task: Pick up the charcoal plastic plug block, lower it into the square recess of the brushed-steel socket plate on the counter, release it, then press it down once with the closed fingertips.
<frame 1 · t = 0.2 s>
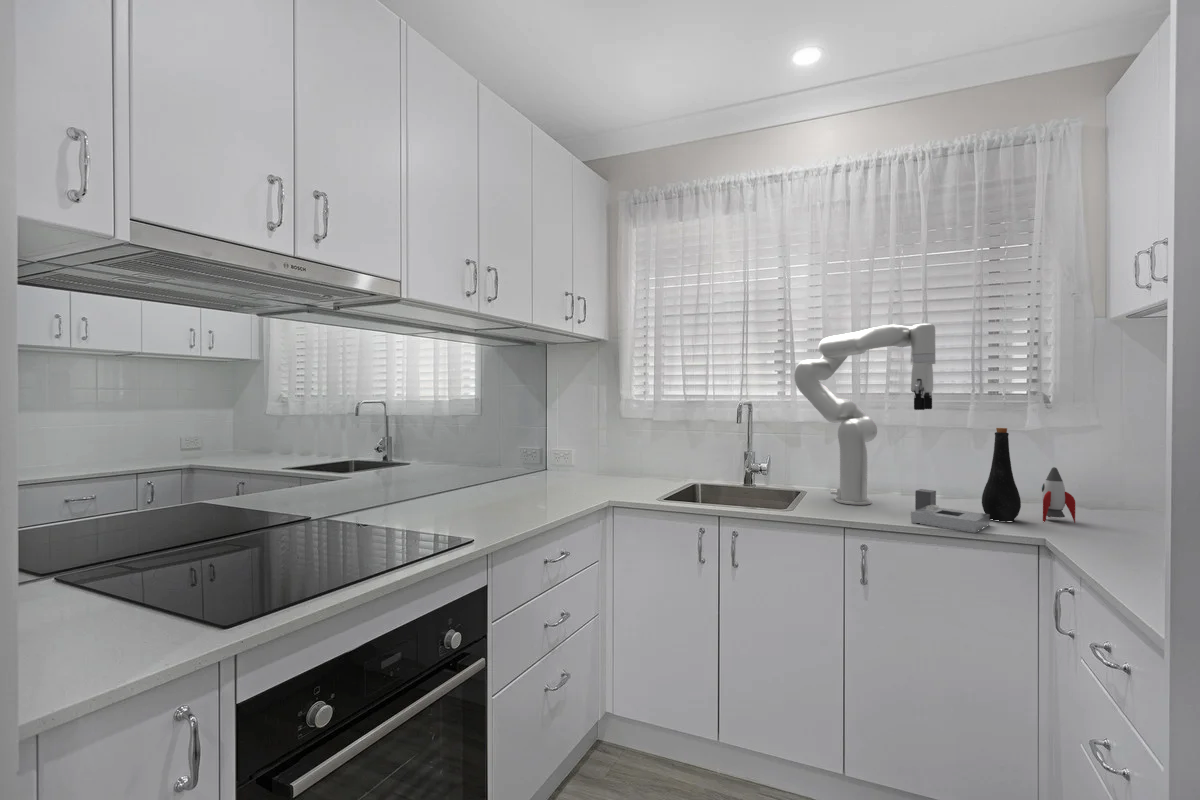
hand: (923, 409, 204), 36 cm above the countertop, tool pointing down, fingers open, 9 cm apart
socket plate: (949, 524, 186), on the countertop
plug: (925, 513, 202), on the countertop
toy: (1057, 522, 190), on the countertop
bottle: (1000, 520, 192), on the countertop
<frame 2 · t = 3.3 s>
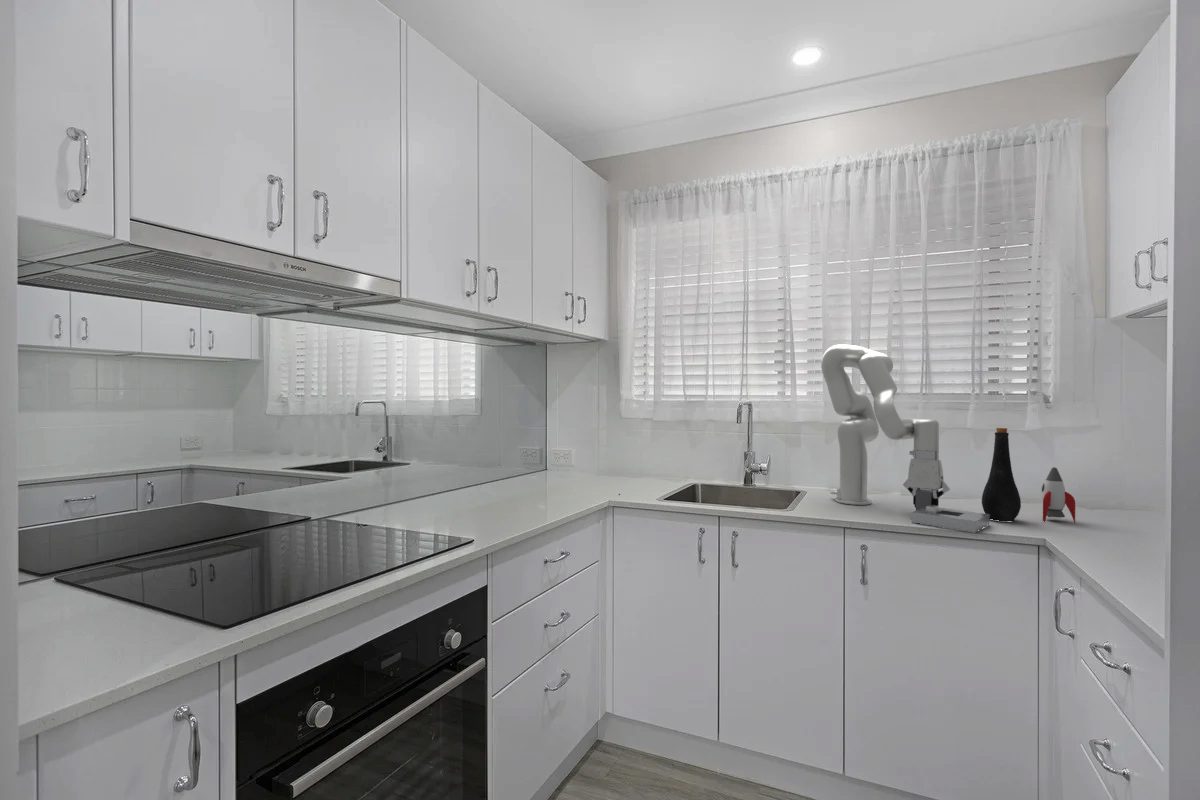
hand: (925, 507, 202), 2 cm above the countertop, tool pointing down, fingers closed on plug, 4 cm apart
plug: (925, 513, 202), on the countertop, touching gripper
everything else where it was.
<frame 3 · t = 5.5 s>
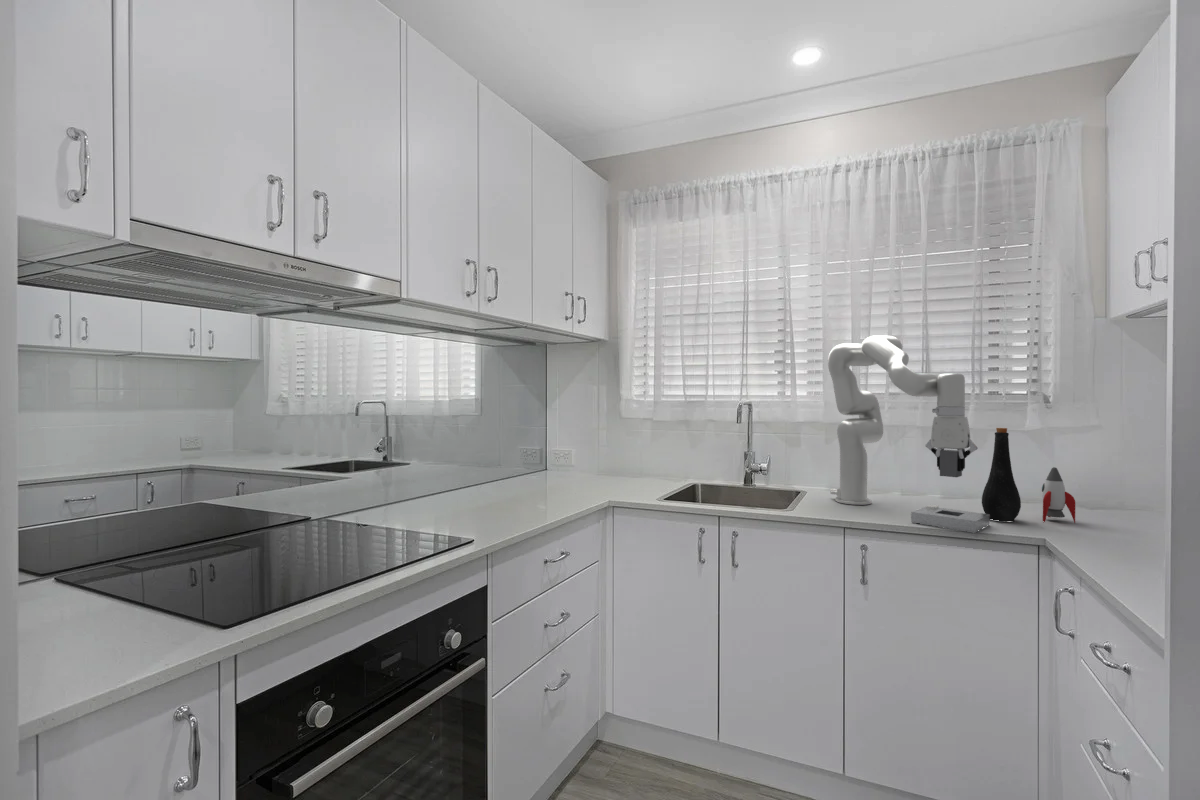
hand: (950, 469, 186), 17 cm above the countertop, tool pointing down, fingers closed on plug, 4 cm apart
plug: (950, 475, 186), point 15 cm above the countertop, touching gripper
everything else where it was.
when the fingers open (4 cm above the countertop, at t = 7.8 s): plug drops 2 cm, resting on socket plate.
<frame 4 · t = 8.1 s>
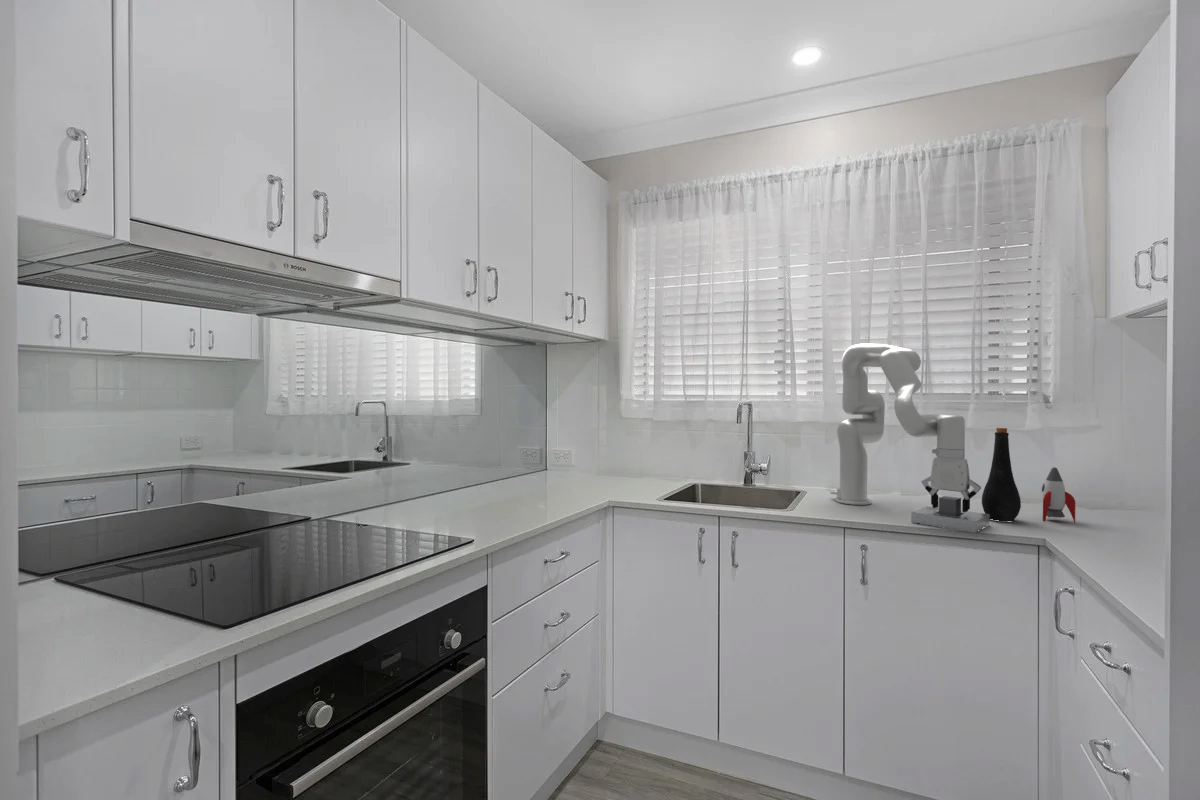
hand: (950, 509, 186), 5 cm above the countertop, tool pointing down, fingers open, 8 cm apart
plug: (949, 523, 186), resting on socket plate
everything else where it was.
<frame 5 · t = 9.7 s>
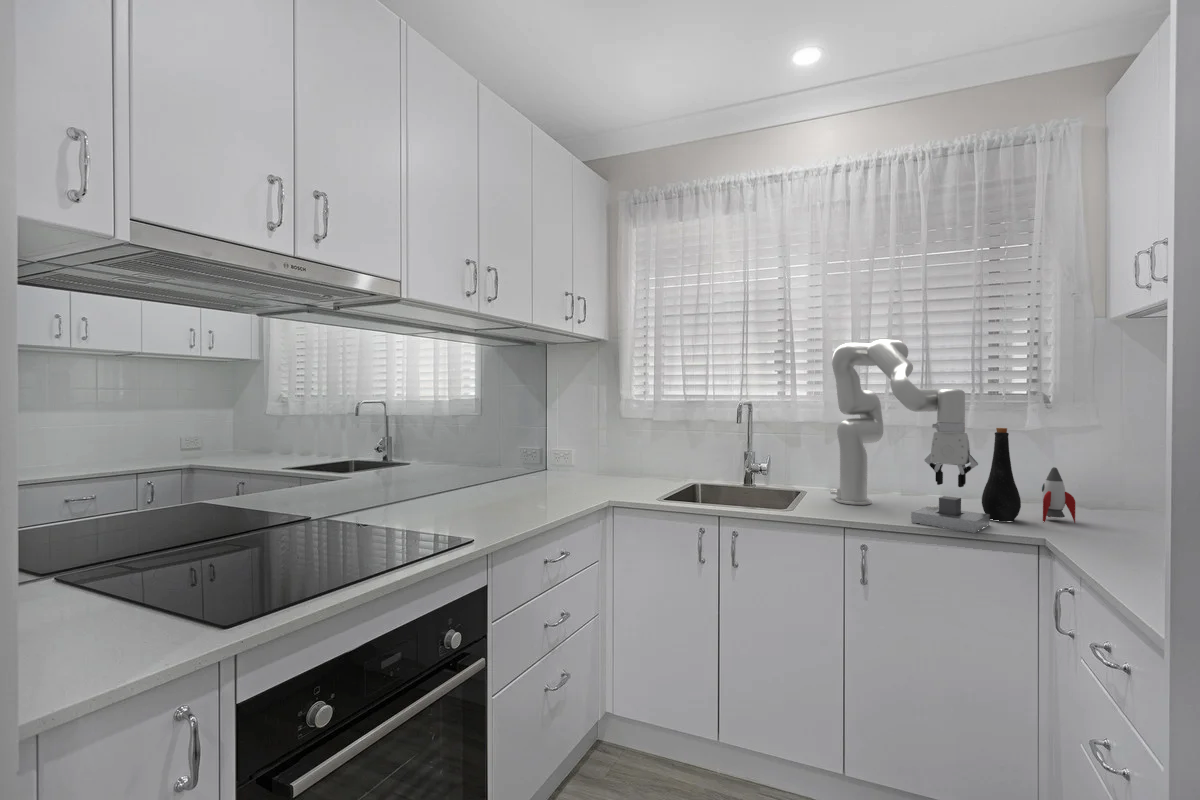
hand: (950, 484, 186), 12 cm above the countertop, tool pointing down, fingers open, 5 cm apart
nothing on the countertop moved.
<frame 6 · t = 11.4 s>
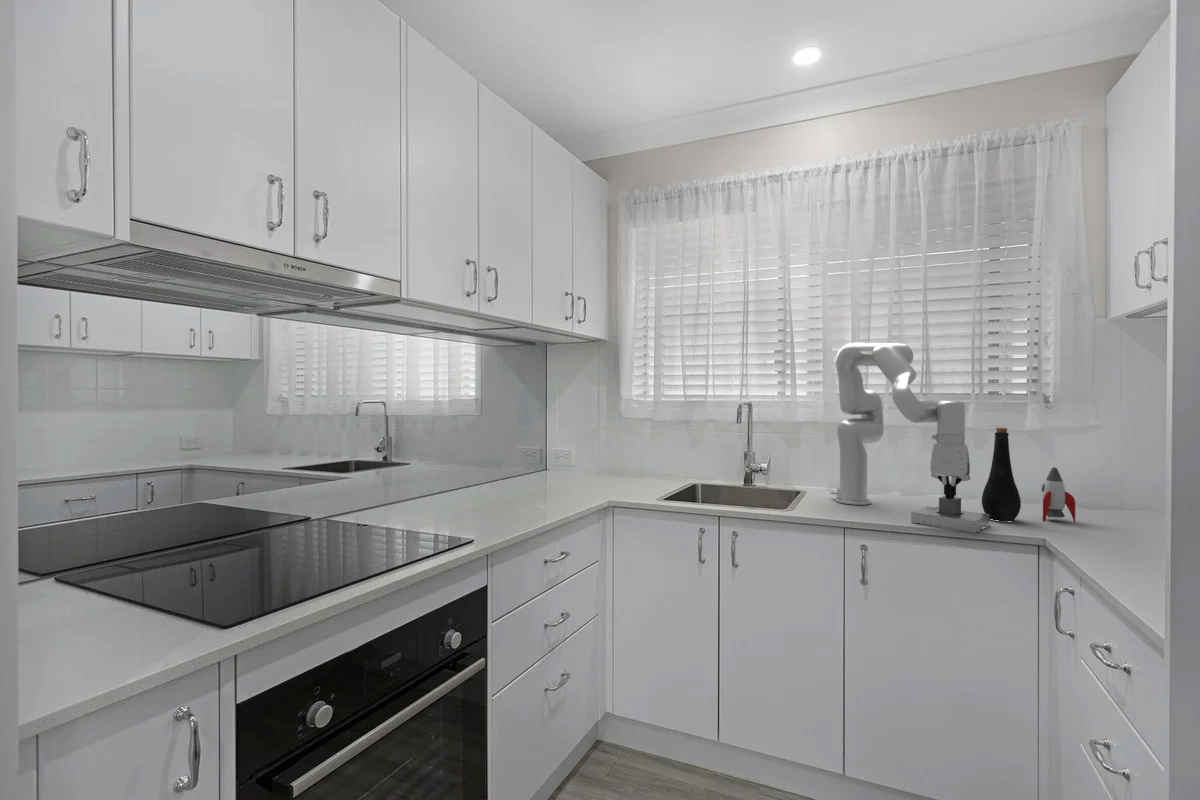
hand: (949, 497, 186), 8 cm above the countertop, tool pointing down, fingers closed
nothing on the countertop moved.
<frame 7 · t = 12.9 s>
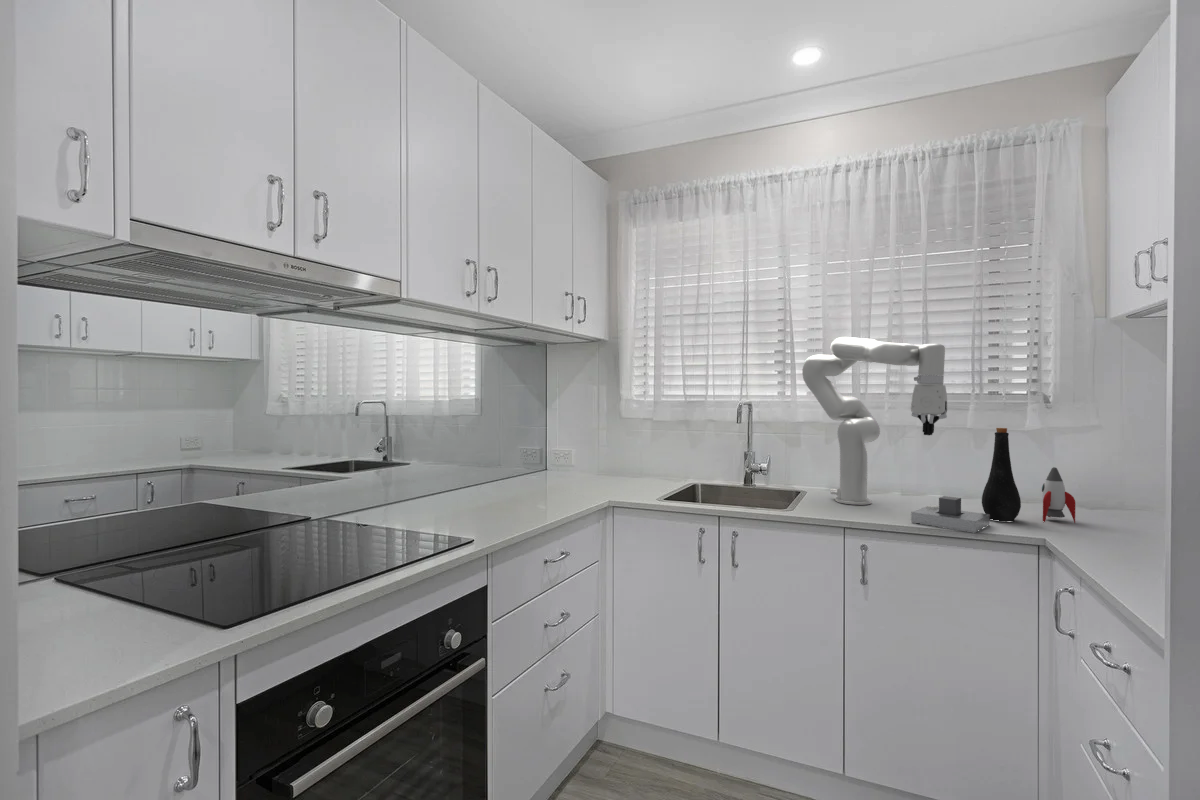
hand: (928, 434, 199), 27 cm above the countertop, tool pointing down, fingers closed
nothing on the countertop moved.
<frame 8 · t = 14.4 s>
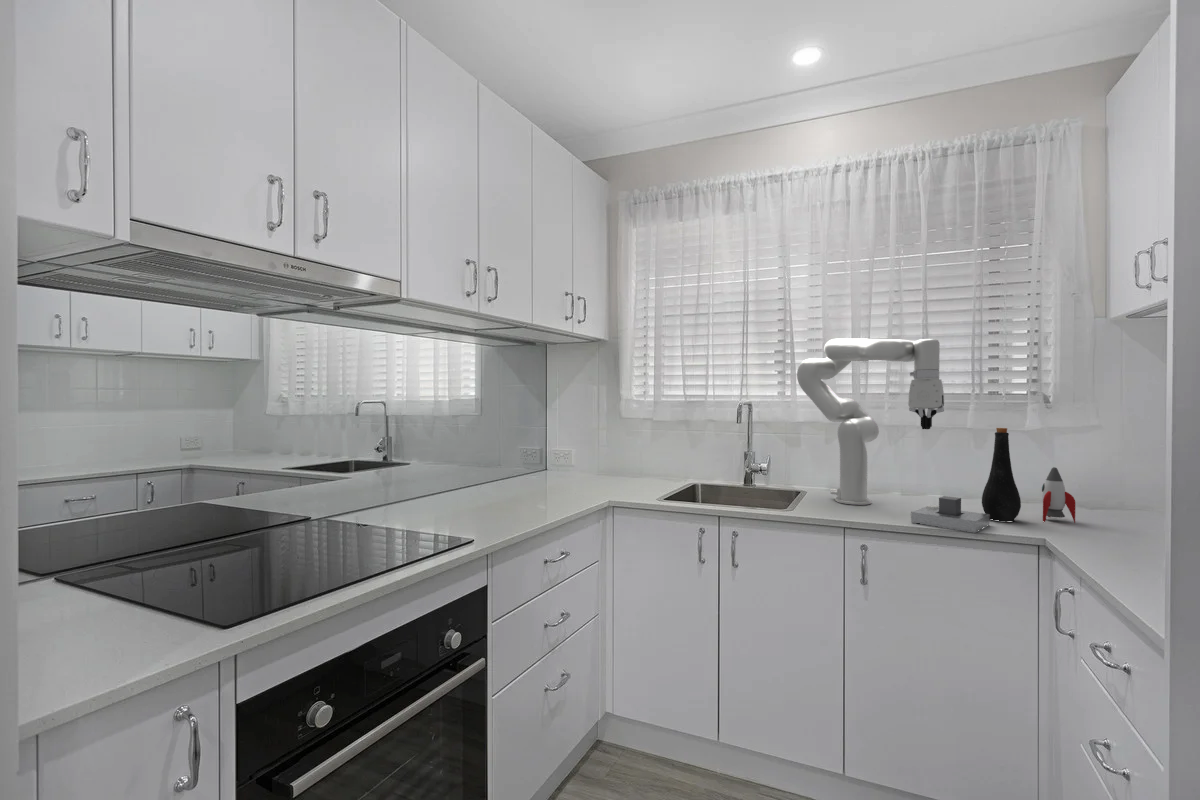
hand: (926, 429, 201), 29 cm above the countertop, tool pointing down, fingers closed
nothing on the countertop moved.
at the end: plug 0.1 cm off-centre on the socket plate, point 0.3 cm above the socket plate's base; plug tilted 0°; the gripper is holding nothing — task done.
